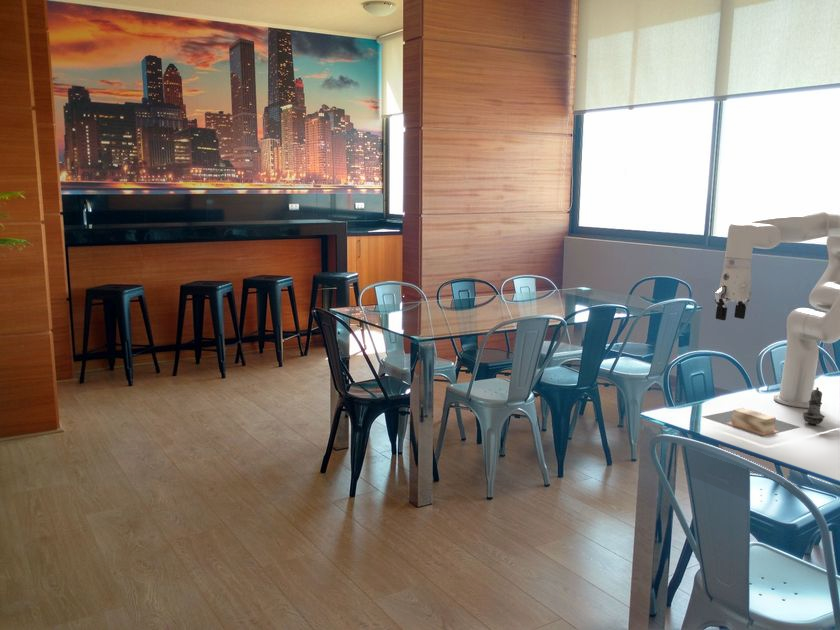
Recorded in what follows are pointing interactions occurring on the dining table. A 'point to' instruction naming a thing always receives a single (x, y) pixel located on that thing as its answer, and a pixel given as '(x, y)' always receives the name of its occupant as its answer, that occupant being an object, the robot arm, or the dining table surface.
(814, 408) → the dark grey tower figurine
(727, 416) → the mat
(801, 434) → the dining table surface
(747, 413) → the light wood block
